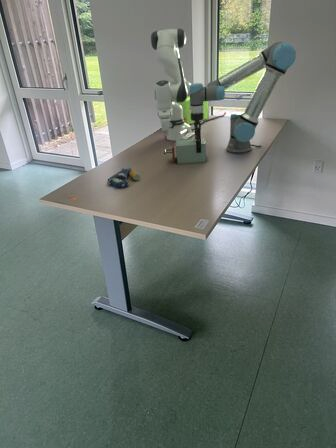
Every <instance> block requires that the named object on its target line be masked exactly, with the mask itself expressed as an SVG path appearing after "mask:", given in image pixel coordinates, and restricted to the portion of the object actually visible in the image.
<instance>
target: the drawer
mask: <svg viewBox="0 0 336 448" xmlns="http://www.w3.org/2000/svg"><path fill="white" fill-rule="evenodd" d="M175 149H176V150H175ZM175 151H176V153H177V148H176V147H175V142H171V149H169V148H168V149H166V148H164V149H163V154H164V155H166V154H172V155H171V156H172V163H176V156H175V155H176V153H175Z"/></svg>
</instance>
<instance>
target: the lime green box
mask: <svg viewBox="0 0 336 448" xmlns="http://www.w3.org/2000/svg"><path fill="white" fill-rule="evenodd" d="M175 103H177V104H179V105H181V106H182V111H183V118H184V117H185V118H187V120H184V121H185V123H186V124H188V125H189V126H191V125H192V124H193V125H194V122H195V121H193V120H191V110H190V109H189V107H190V96H188V97H187V99H186V100H185V101H184V102H183V103H181V102H175ZM203 107H204V111H203V113H204V119H203V120H200V122H203V121H206V120H208V119H210V118H209V101H203Z"/></svg>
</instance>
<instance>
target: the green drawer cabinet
mask: <svg viewBox="0 0 336 448" xmlns="http://www.w3.org/2000/svg"><path fill="white" fill-rule="evenodd" d="M195 141H196V139H195V138H192V139H190V138H189V139H186V140H177V141H175V149H176V148H177V152H176V162H177V165H179V164H180V165H181V164H191V163H192V164H193V163H194V164H195V163H207V144H206V140H205V138H203V137H202V138H201V153H197V150H196V143H195Z"/></svg>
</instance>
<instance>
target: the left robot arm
mask: <svg viewBox="0 0 336 448" xmlns="http://www.w3.org/2000/svg"><path fill="white" fill-rule="evenodd" d="M149 40H150V45H151V48H152V49H153V50H154V51H156V60H157V62H158V63H159V65H161V67H163V73H164V74H165V75H166V76H167V77H169V78H172V80H173V81H169V80H165V79H164V80H159V81H157V82H156V83H155V87H154V99H155V101H156V115H157V117H158V118H159V121H160V126H161V130H162V132H163V133H164V136H165V137H166V140H168V141H173V142H174V141H175V142H176V141H177V140H189V139H190V138H191V137H193V136H195V128H194V127H193V128H192V126H191V125H188V124H186V123H185V121H184V120H187V118H185V117H184V118H183V111H182V106H181V105H179V104H177V103H175V102H181V103H183V102H184V101H185V100H186V99H187V97H188V96H190V85H191V84H192V83H190V81H188V80H187V79H186V78H185V73H184V69H183V64H182V60H181V58H180V50H181V49H183V48H184V47H185V45H186V42H187V35H186V32H185V30H184V29H183V28H167V29H162V30H155V31H152V32H151V34H150V39H149ZM226 114H227V112H226V111H225V112H224V113H223V114H222V115H218V116H215V117H212V118H208V119H205V120H203V121H201V125H203V124H205V123H206V122H209V121H212V120H215V119H218V118H222V117H224V116H225V115H226Z"/></svg>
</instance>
